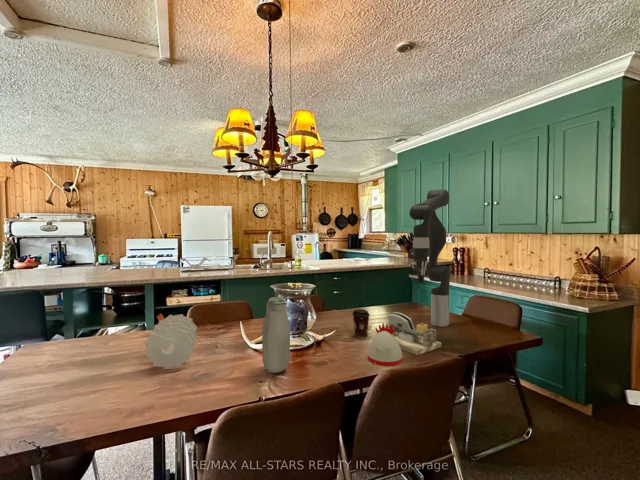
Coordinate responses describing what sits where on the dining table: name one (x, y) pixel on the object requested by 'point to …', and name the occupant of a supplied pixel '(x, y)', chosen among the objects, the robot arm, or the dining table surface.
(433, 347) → the cream board with rail
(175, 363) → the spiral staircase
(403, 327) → the strap
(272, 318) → the glass bottle
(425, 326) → the block
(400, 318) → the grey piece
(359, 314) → the coffee cup
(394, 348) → the kitchen timer
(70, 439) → the dining table surface
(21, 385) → the dining table surface
